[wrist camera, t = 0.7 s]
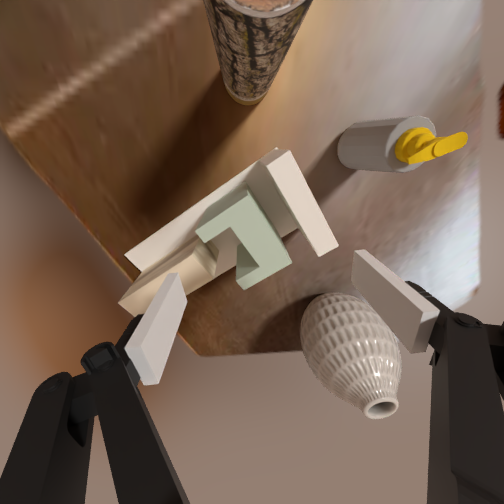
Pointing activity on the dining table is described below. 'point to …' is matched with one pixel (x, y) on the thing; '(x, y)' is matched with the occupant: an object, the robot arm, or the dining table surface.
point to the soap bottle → (394, 144)
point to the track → (271, 199)
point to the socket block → (246, 235)
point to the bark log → (253, 41)
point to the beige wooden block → (179, 260)
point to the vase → (352, 352)
